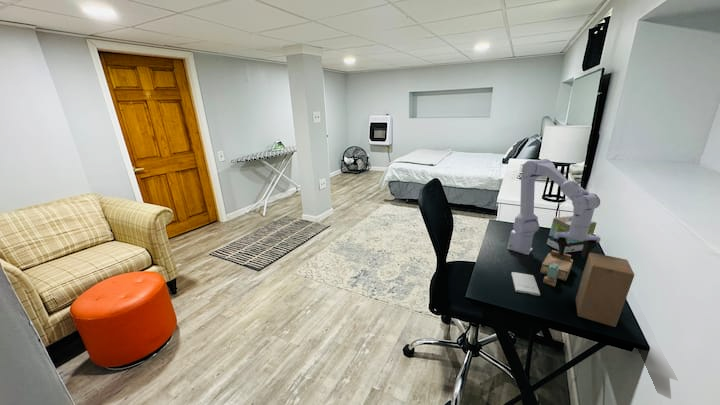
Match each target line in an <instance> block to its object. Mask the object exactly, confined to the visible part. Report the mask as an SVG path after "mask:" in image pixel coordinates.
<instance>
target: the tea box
mask: <svg viewBox="0 0 720 405" xmlns="http://www.w3.org/2000/svg"><path fill="white" fill-rule="evenodd" d="M572 217H573V215H568V216H560V217H553V219H552V223H551V227H550V231H549V234H548V238H547V242H546V245H548V246H550V247H551V248H553V249H555V250H556V249H557V250H556V251H558V250H559V245H558V241H557V238H555V236H554V235H555V232H569V229H570V225H571V221H572ZM596 226H597V222H596V221H594V220H591V223H590V227H589V230H588V234H590V235H594V233H595V229H596ZM566 242H567V245H566V247H565V249H564V253H565V254H568V253H572V252H573V253H574V252H580V251H581V252H582V249H583V244H584V241H578V240H576V239H566Z"/></svg>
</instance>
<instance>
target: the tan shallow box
mask: <svg viewBox="0 0 720 405" xmlns="http://www.w3.org/2000/svg"><path fill="white" fill-rule="evenodd" d="M573 262H574V261H573ZM573 262H572V265H571V267H570V269H569V272H568V273H565V272H562V271H559V270H558V274H557V278H556V279H553V278H550V277H547V273H548V269H549V267H546V266H543V265H542V264H541V268H540V271H539V272H540V274H544V277H543V281H542V283H543V284H547V285H549V286H552V287H556V284H557V279H559V280H561V281H564V282H566V281H567V279H568V276H569V274H570V271H571V270H572V266H573Z"/></svg>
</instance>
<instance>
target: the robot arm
mask: <svg viewBox="0 0 720 405" xmlns="http://www.w3.org/2000/svg"><path fill="white" fill-rule="evenodd" d="M521 166H522V167H521V168H522V169H521V171H522V172H521V175H520V202H519V203H520V209H519V211H520V213H519V214H517V215H516V217H515V218H514V221H513V222H514V223H513V225H512V227H513V229H512V230H511V231H510V234H509V237H508V243H507V248H506V249H507V250H511V251H513V252H517V253H521V254H524V255H528V256H529V255H530V254H531V252H532V251H533V249H534V248H533V247H532V244H533V240H534V234H536V232H537V231H538V230H539V229H540V224H539V218H538V216H537V215H536V214H535V188H536V186H535V185H536V182H535V181H536V180H537V179H539V178H540V177H541V176H546V177H547V178H549V179H550V180H551V181H553V182H554V183H555V184H557V185H558V186H559V187H560V189H559V190H560V192H561V193H563V195H564V196H566V197H567V198H568V199H569V200H570V201H571V204H572V207H573V210H572V212H573V214H572V216H573V217H572V221H571V225H570V229H569V232H555V235H554V236H555V238H557V241H558V245H559V251H558V252H559V254H560V255H561V256H563V254H564V249H565V247H566V245H567V242H566V239H576V240H578V241H584V244H583V249H582V250H581V253H580V256H581V257H582V258H583V259H587V258H586V257H588V255H589V253H590V252H591V251H592V250H593V249H594V248H597V245H598V243H600V242H601V237H600V236H599V235H594V234H593V235H590V234H588V230H589V227H590V223H591V221H593V217H594V216H593V215H594V212H595V209H597V208H598V207H600V206H601V199H600V197H599V196H598V195H597V194H596V193H593V192H589V191H588V190H587V189H585V188H583V187H582V186H581V185H579V182H578V181H575V180H568V179H567V178H566V177H565V176H564V175H563V173H561V171H560V170H558V169H557V168H556V167H555V163H554V162H552V161H551V160H550V159H548V158H547V159H546V158H544V159H536V160H535V159H534V160H531V159H530V160H527V161H526V162H524V163H523V164H522V165H521Z"/></svg>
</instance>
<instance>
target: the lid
mask: <svg viewBox="0 0 720 405" xmlns="http://www.w3.org/2000/svg"><path fill="white" fill-rule="evenodd" d="M571 257H572V255H571V254H568V253H564V254H563V256H561V255H560V254H559V251H558V250H553V249H552V250H551V251H550V252H548V253H547V255H546V257H545V259H544V260H543V262H542V263H541V266H542V265H543V266H546V267H549V266H550V265H552V264H553V263H556V264H558V267H559V271H562V272H565V273H568V272H569V269H570V267H571V265H572V266H573V263H572V262H574V260H573V259H572V258H571ZM571 268H572V267H571ZM569 273H570V272H569Z"/></svg>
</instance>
